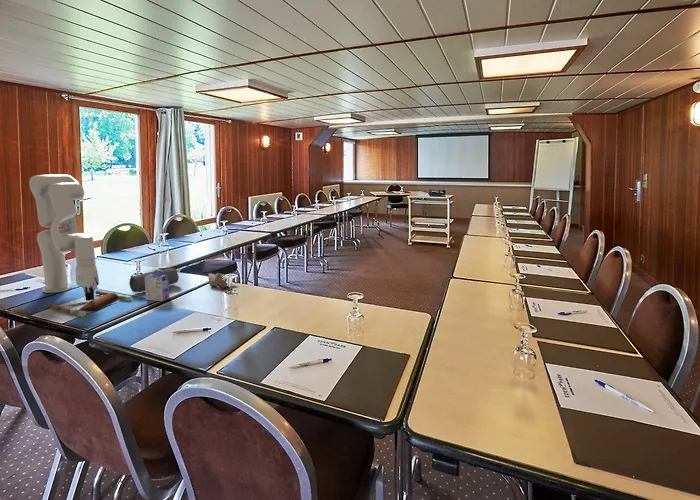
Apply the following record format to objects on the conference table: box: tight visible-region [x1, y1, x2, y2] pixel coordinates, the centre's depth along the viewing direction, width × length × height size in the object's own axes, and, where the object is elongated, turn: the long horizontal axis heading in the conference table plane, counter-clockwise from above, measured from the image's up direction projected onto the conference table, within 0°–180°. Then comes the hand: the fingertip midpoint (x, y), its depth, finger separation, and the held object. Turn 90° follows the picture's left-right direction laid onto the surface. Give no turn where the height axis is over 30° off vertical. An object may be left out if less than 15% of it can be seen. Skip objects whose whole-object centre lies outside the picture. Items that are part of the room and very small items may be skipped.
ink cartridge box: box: [145, 269, 170, 302], centre depth 205 cm, size 10×6×14 cm, turn 79°
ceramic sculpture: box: [208, 271, 238, 289], centre depth 228 cm, size 11×9×15 cm
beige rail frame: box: [47, 289, 132, 318], centre depth 196 cm, size 23×24×2 cm
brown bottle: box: [78, 292, 118, 312], centre depth 196 cm, size 18×7×7 cm
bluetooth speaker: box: [129, 267, 180, 293], centre depth 220 cm, size 23×9×10 cm, turn 144°
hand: (90, 299), depth 196 cm, fingers closed
